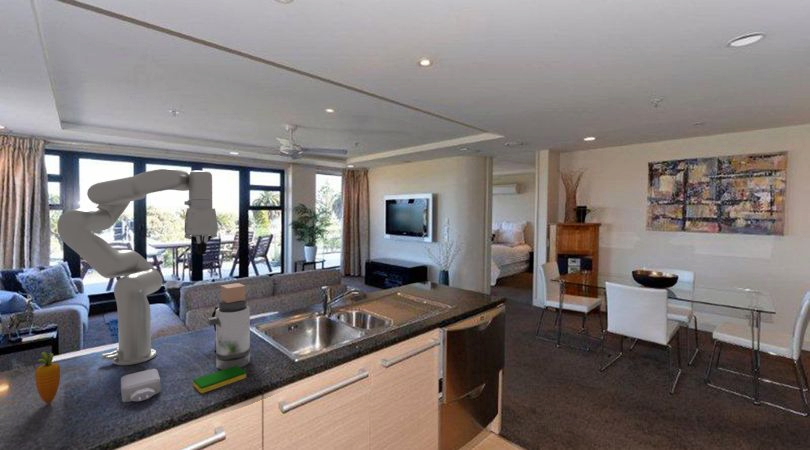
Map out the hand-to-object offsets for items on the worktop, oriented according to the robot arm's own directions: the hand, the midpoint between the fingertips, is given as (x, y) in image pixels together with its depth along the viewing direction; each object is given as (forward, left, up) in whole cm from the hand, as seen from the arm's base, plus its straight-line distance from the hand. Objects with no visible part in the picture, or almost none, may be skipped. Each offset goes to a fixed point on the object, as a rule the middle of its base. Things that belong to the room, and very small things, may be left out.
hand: (201, 253), depth 131 cm
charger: (-22, -18, -40) cm, 49 cm away
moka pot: (+9, +1, -39) cm, 40 cm away
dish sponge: (-2, -25, -40) cm, 47 cm away
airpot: (+5, -14, -39) cm, 42 cm away
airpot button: (+6, -14, -16) cm, 22 cm away
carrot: (-41, -5, -39) cm, 57 cm away
